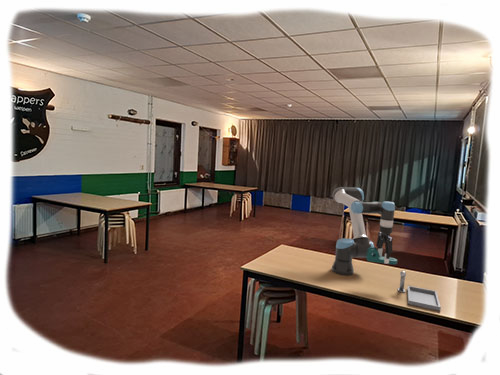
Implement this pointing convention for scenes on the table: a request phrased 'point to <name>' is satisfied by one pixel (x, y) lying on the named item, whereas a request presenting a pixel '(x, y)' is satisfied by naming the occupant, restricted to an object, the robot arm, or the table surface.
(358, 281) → the table surface
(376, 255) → the bracket
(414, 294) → the bin
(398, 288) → the ball stud
